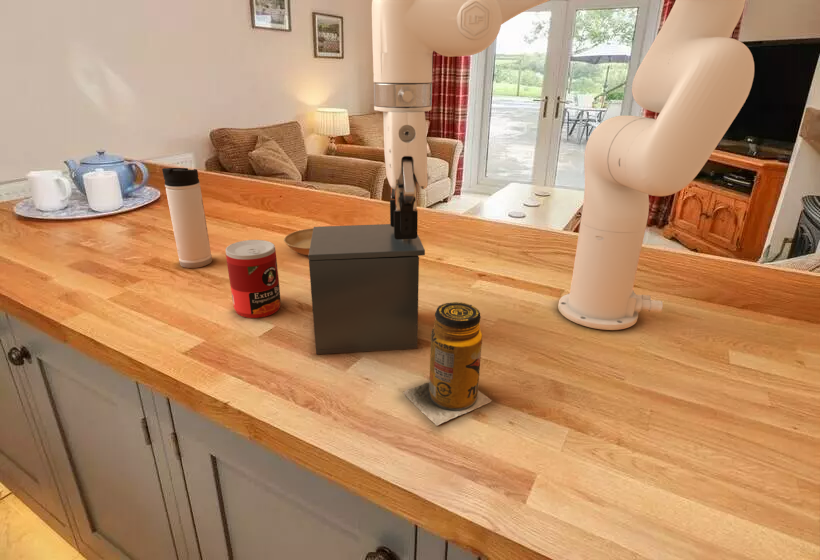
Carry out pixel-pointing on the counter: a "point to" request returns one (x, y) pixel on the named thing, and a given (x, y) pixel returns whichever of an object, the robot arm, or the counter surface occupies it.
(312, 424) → the counter surface
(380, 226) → the lid
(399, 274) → the bin
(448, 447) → the counter surface
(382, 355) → the counter surface
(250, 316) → the canned food
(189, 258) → the travel mug
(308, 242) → the plant saucer
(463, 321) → the condiment
